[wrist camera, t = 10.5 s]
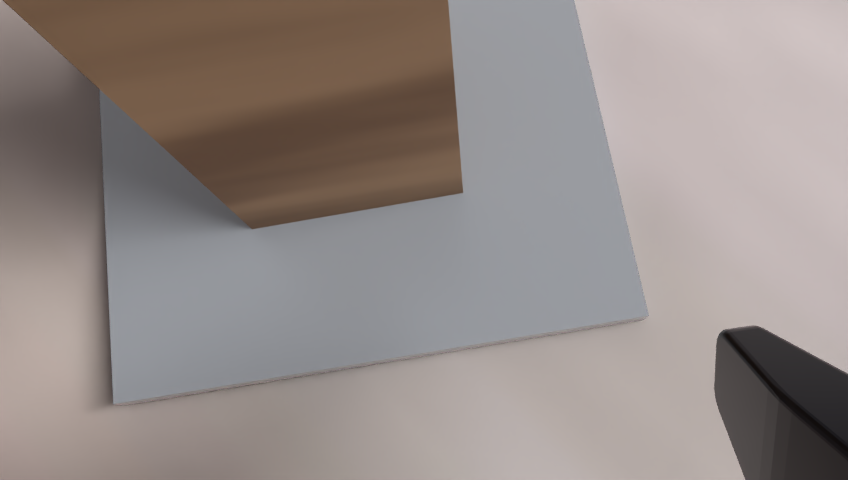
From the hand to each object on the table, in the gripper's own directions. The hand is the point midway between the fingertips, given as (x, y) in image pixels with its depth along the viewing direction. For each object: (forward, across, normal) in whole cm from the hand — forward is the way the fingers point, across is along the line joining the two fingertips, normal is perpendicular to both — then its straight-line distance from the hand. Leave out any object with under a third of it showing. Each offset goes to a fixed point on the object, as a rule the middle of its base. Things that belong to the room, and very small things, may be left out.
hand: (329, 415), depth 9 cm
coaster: (+11, 0, +1) cm, 11 cm away
